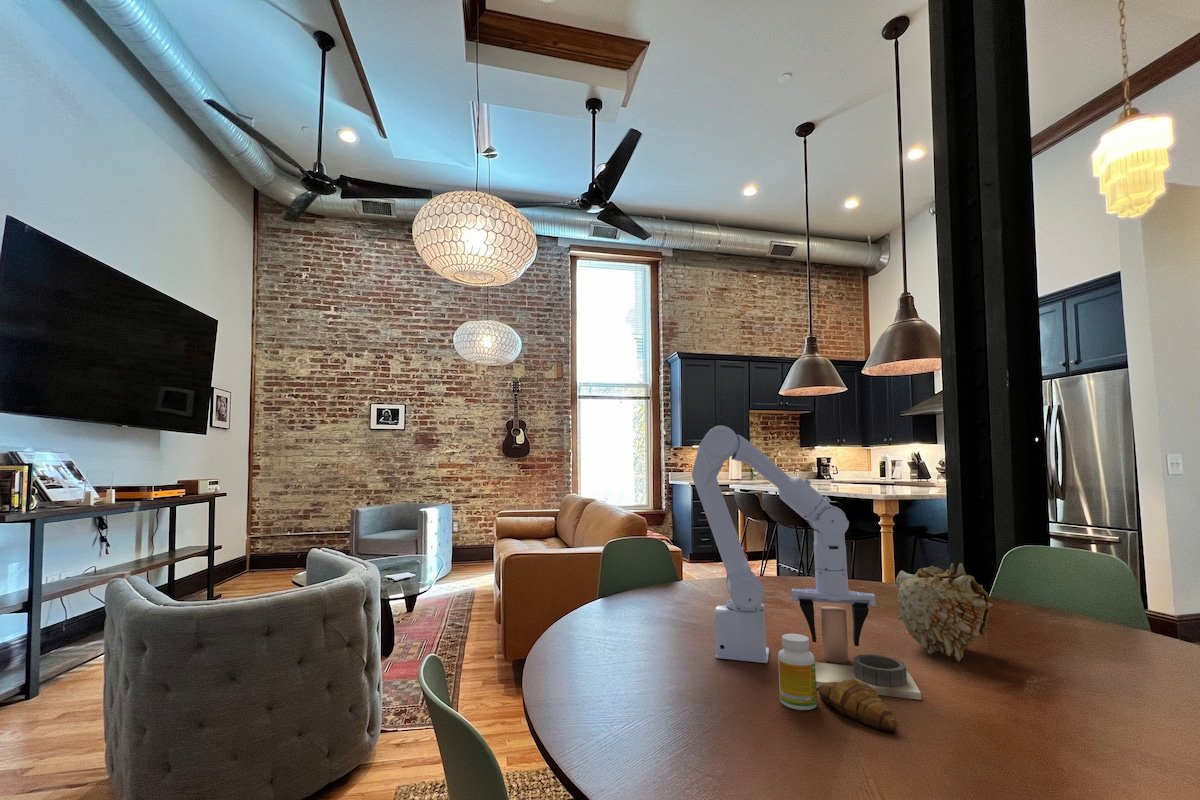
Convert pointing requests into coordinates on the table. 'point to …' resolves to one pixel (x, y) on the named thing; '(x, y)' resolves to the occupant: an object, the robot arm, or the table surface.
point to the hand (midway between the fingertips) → (834, 642)
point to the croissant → (858, 703)
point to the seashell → (943, 608)
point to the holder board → (849, 675)
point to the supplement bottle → (797, 673)
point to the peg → (834, 634)
